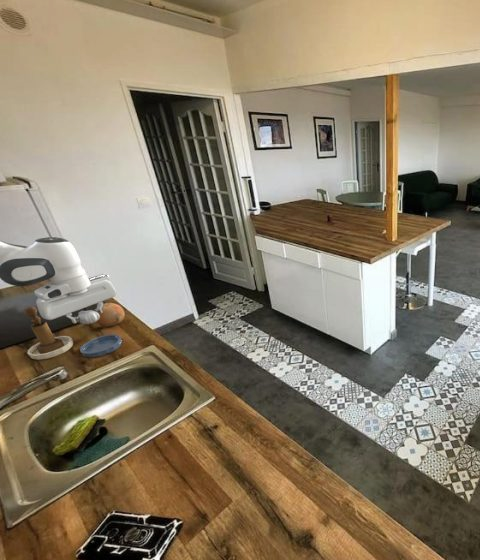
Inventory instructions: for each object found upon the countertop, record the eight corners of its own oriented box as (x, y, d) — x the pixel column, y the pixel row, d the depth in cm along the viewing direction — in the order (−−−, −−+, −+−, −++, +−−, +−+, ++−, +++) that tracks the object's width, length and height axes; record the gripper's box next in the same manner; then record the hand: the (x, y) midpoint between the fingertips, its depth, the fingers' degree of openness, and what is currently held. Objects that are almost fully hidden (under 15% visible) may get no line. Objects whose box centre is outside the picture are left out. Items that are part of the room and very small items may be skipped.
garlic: (76, 328, 109) (70, 315, 107) (83, 320, 114) (77, 308, 111) (98, 324, 111) (91, 312, 109) (104, 317, 116) (98, 305, 113)
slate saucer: (92, 361, 111) (89, 357, 110) (76, 352, 115) (73, 347, 114) (128, 344, 120) (126, 339, 119) (112, 335, 124) (110, 331, 123)
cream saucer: (38, 364, 109) (35, 359, 108) (24, 354, 113) (21, 349, 112) (80, 345, 118) (77, 341, 117) (65, 337, 123) (62, 332, 122)
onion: (113, 317, 136) (105, 297, 132) (133, 319, 135) (125, 299, 131) (91, 329, 128) (81, 309, 123) (113, 332, 127) (103, 311, 122)
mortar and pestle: (64, 341, 120) (42, 301, 112) (64, 349, 116) (42, 307, 108) (39, 348, 116) (15, 307, 108) (39, 357, 112) (14, 314, 104)
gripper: (103, 270, 115) (116, 302, 121) (26, 293, 99) (46, 329, 104) (112, 274, 113) (125, 306, 119) (35, 298, 96) (55, 334, 102)
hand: (88, 317), depth 111 cm, fingers closed on garlic, 5 cm apart
